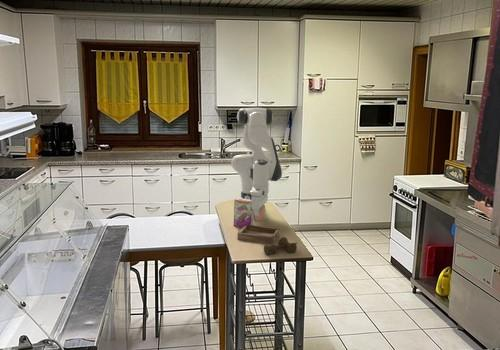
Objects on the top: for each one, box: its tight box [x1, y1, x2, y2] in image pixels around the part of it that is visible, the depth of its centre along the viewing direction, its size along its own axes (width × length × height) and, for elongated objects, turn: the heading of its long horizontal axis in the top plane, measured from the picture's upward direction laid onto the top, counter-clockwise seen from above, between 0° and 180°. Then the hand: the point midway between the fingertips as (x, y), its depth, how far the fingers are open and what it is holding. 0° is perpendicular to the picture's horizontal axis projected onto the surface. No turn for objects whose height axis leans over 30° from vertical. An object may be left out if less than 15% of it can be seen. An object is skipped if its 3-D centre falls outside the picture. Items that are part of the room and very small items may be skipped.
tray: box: [236, 224, 281, 245], centre depth 251 cm, size 16×20×4 cm
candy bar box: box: [233, 197, 255, 228], centre depth 268 cm, size 11×5×16 cm, turn 71°
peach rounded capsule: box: [254, 204, 266, 222], centre depth 248 cm, size 6×6×8 cm
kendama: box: [263, 236, 298, 256], centre depth 231 cm, size 6×10×20 cm
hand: (259, 213), depth 248 cm, fingers closed on peach rounded capsule, 6 cm apart
